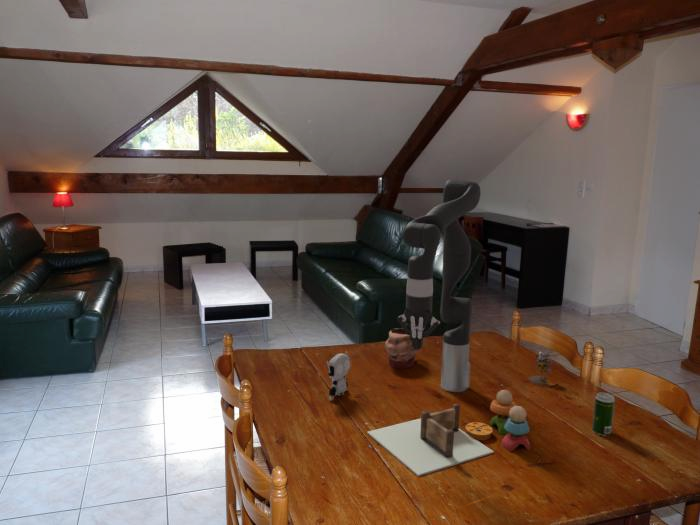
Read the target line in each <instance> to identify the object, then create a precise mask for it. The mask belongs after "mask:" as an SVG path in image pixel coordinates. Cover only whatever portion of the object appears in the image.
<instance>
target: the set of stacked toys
mask: <svg viewBox="0 0 700 525" xmlns="http://www.w3.org/2000/svg"><path fill="white" fill-rule="evenodd" d="M489 408H490V411H491V412H493V413H494V414H496V415H495V416H494V417H492V418H491V419H490V422H489V424H487V423H483V422H476V421H475V422H469V423H466V424H465V431H466V432H465V433H466V434H468V435H469V436H471V437H473V438H474V439H476V440H477V441H486V440H489V439H491V436H492V434H493V431H494V430H493V427H492V426H497V429H498V433H499V434H500V435H504V437H503V438H502V440H501V444H502V445H501V447H502V448H503V449H504V448H505V449H506V450H505V449H504V450H505V451H507V450H508V451H507V452H510V451H512V452H514V450H515V449H516V448H518V447H519V445H522V446H523V447H524V448H525V449H527V450H531V443H530V441H529V439H528V438H527V437H526V436H525V435H526V434H529V432H530V426H529V424H528V421H527V420H526V418H527V412H526V409H525V408H524V407H522V406H520V405H517V404H516V403H515V402H514V401H513V395H512V393H511V391H510V390H507V389H501V390H499V391H498V392H497V393H496V399H493V400H492V401H491V403H490V407H489Z"/></svg>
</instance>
